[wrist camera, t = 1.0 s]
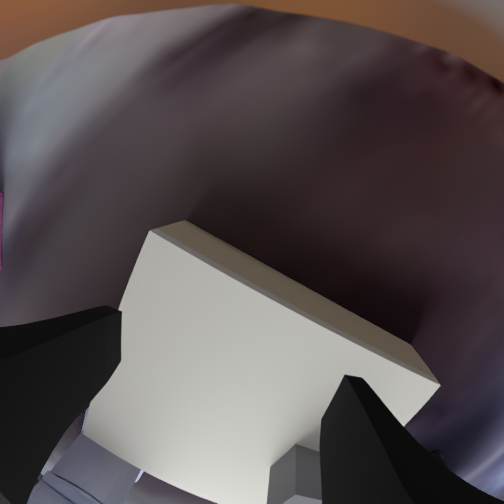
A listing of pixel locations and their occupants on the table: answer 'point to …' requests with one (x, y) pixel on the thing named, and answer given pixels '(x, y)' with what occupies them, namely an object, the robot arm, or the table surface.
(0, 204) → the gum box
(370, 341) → the beige wooden tray
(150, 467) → the lid
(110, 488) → the robot arm
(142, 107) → the table surface
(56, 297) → the table surface
